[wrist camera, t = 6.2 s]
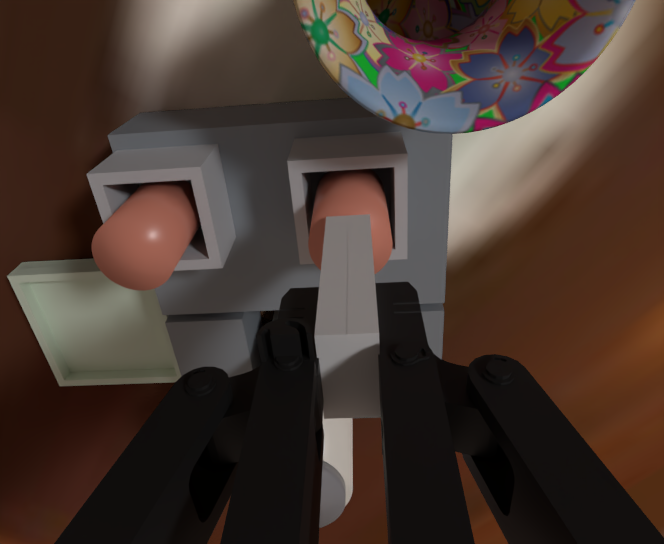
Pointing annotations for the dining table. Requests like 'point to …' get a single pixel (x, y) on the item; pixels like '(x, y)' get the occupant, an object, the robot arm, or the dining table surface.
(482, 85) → the mug
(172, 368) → the tray
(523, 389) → the robot arm
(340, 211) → the plunger
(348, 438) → the cylinder
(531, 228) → the dining table surface
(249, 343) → the housing
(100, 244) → the plunger
